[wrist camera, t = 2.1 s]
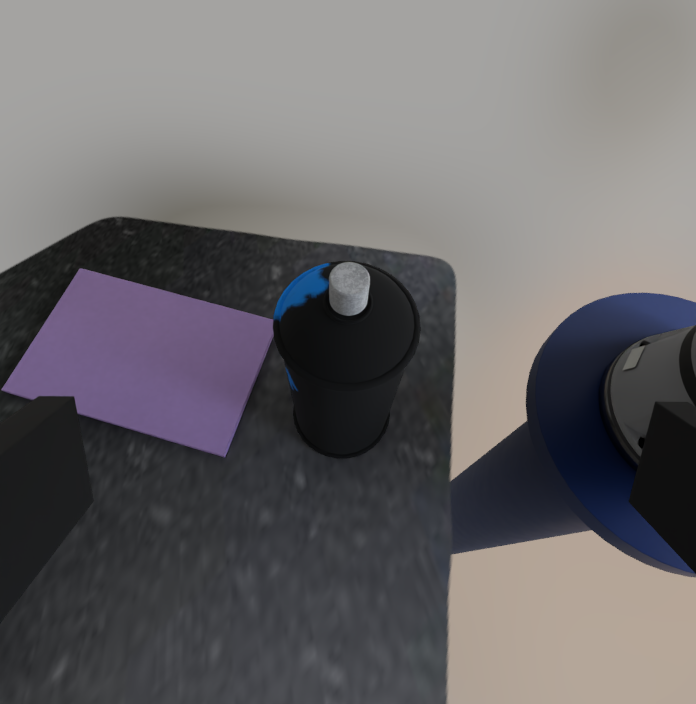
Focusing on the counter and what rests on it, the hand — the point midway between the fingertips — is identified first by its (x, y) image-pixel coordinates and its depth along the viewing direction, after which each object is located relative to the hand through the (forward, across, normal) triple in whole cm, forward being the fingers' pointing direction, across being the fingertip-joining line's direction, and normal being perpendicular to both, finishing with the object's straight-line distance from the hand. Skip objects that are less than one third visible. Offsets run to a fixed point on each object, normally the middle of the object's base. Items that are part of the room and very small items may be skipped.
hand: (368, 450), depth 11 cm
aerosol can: (+27, 0, -13) cm, 30 cm away
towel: (+30, -17, -9) cm, 36 cm away
